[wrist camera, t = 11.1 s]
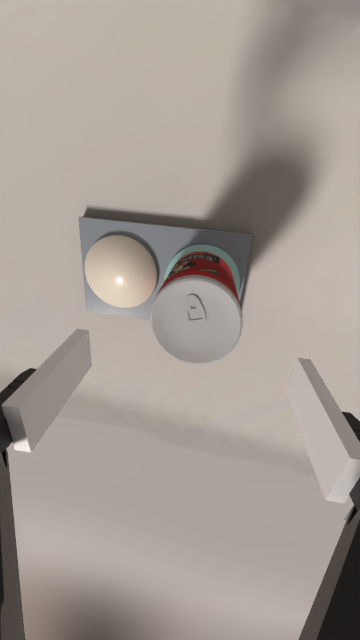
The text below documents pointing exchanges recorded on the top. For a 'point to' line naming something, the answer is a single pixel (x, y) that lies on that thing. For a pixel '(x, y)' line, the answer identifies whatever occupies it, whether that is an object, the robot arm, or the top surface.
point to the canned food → (197, 310)
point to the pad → (210, 249)
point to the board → (142, 260)
